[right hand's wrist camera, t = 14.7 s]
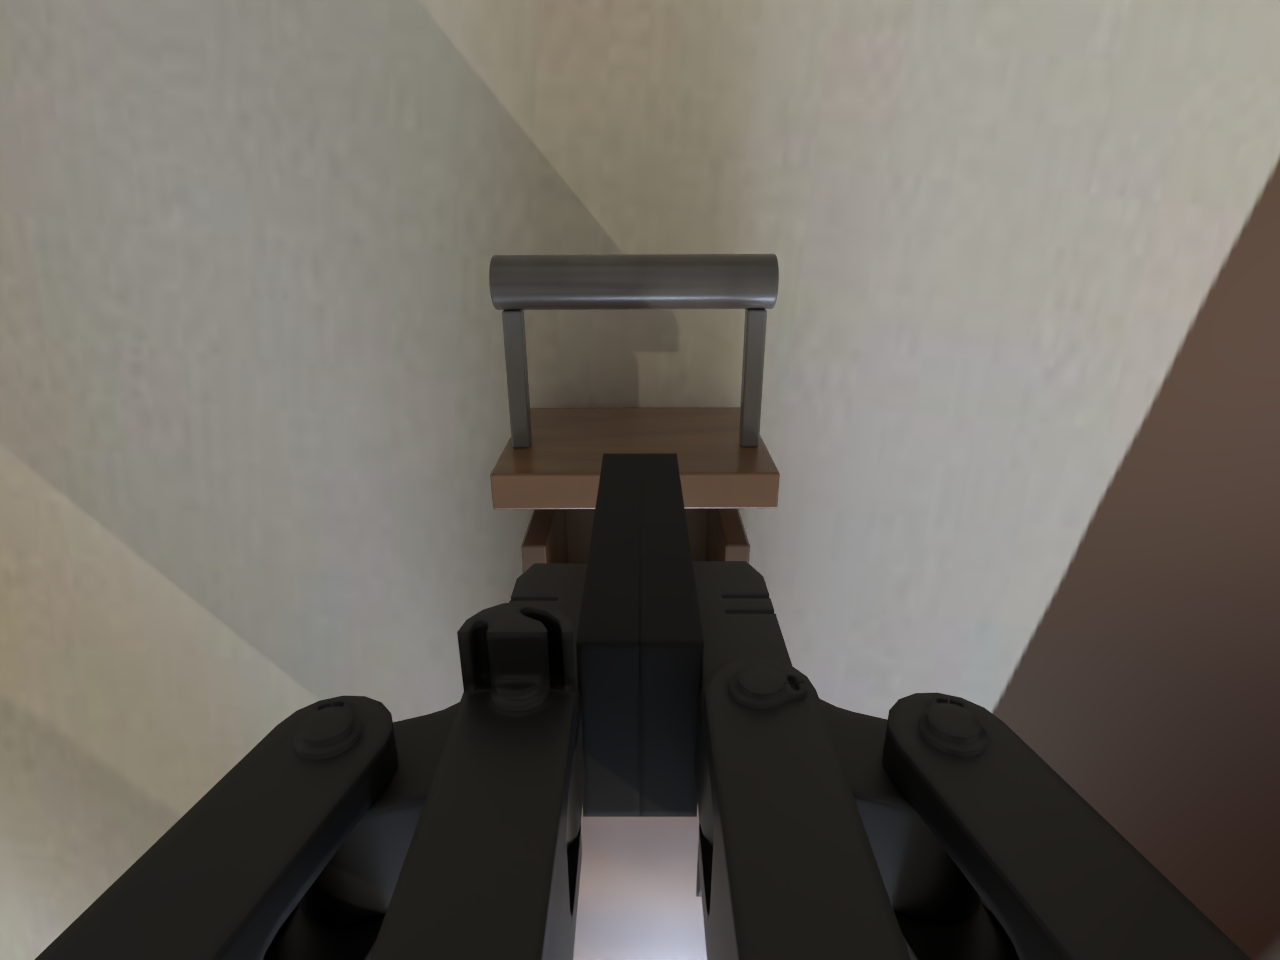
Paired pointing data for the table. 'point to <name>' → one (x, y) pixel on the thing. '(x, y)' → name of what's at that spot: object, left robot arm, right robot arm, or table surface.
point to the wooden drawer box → (639, 890)
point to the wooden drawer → (577, 437)
